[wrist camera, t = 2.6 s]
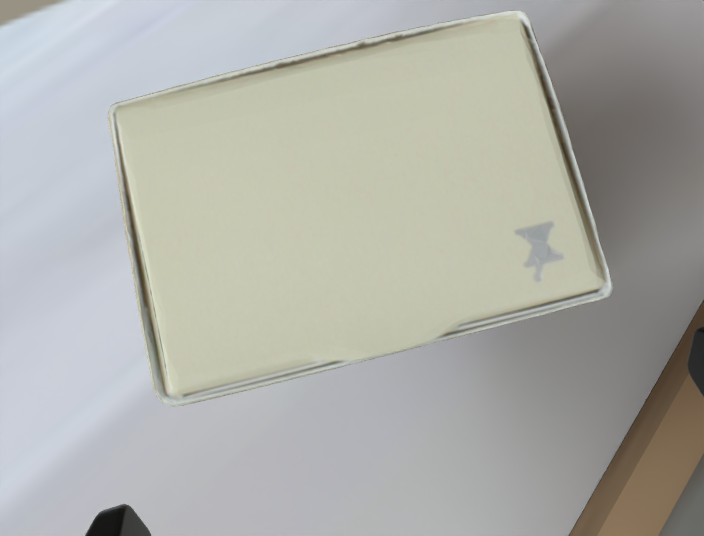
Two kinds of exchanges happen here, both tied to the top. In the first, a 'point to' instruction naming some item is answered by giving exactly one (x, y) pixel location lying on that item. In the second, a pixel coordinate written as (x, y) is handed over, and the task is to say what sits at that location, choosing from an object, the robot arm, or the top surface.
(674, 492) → the brown picture frame
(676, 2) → the top surface
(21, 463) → the top surface
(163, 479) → the top surface
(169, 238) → the skincare box
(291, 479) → the top surface
